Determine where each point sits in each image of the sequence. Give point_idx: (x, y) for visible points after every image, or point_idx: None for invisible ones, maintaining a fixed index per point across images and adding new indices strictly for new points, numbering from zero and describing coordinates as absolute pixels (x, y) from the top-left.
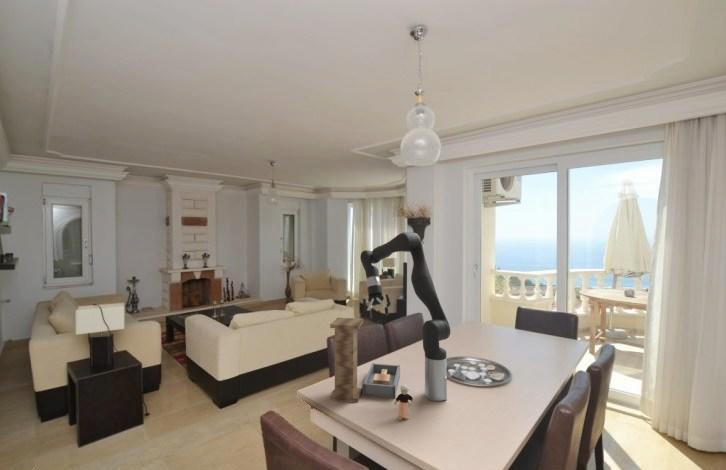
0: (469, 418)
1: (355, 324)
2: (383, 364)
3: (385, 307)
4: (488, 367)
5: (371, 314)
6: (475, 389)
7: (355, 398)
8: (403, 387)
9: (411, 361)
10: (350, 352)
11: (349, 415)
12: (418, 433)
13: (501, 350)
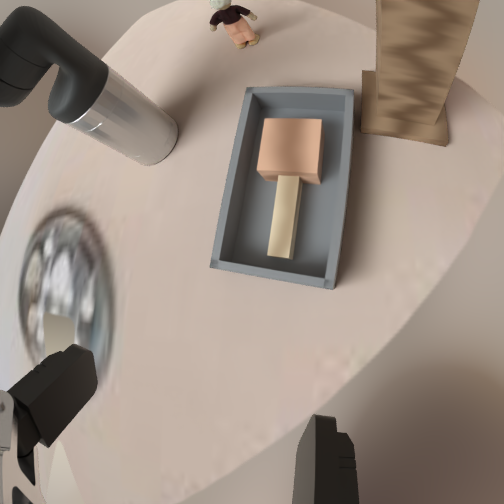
0: (130, 79)
1: None
2: (279, 277)
3: (11, 398)
4: (34, 317)
5: (294, 486)
6: (76, 195)
7: (369, 72)
8: None
9: (176, 395)
10: None
11: (367, 33)
12: None
13: None
